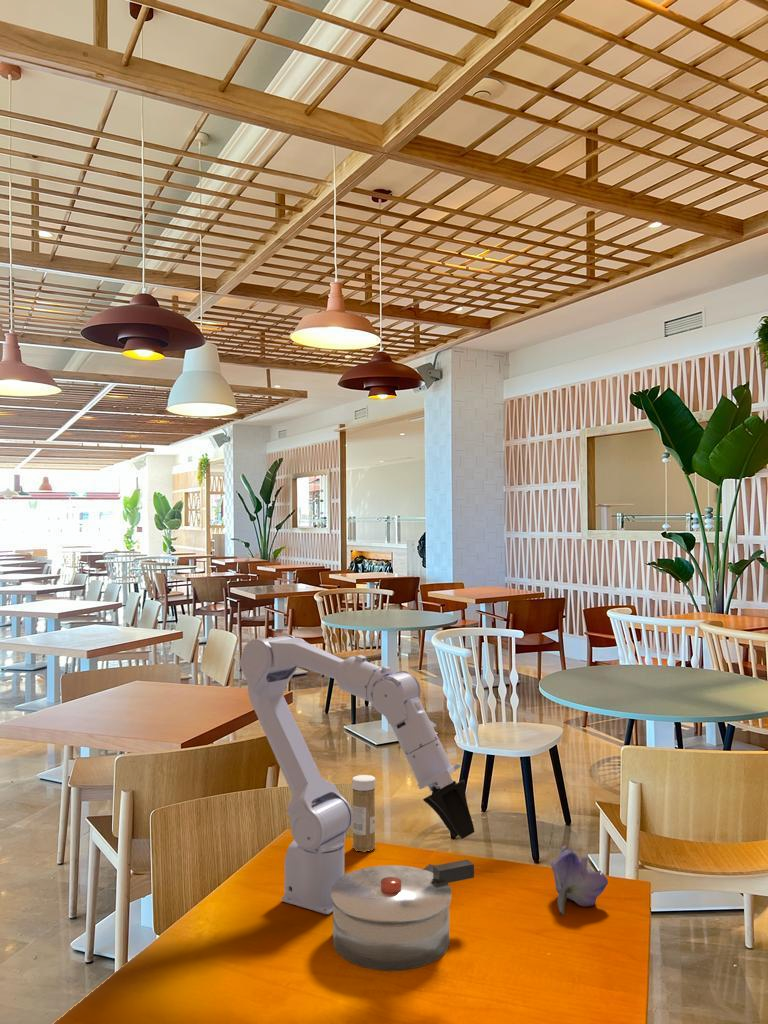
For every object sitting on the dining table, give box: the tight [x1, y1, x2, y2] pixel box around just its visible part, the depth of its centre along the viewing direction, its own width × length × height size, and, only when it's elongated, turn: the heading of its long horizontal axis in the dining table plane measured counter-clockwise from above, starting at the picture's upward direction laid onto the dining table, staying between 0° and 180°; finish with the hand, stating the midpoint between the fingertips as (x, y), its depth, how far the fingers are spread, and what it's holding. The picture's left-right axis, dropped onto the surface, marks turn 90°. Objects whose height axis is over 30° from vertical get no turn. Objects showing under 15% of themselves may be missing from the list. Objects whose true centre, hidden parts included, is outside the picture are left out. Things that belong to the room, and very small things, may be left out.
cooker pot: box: [332, 863, 450, 972], centre depth 112 cm, size 23×17×6 cm
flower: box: [550, 845, 609, 916], centre depth 120 cm, size 9×9×10 cm
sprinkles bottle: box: [351, 774, 377, 852], centre depth 144 cm, size 5×5×14 cm
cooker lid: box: [331, 859, 475, 924], centre depth 111 cm, size 22×18×3 cm
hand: (464, 834), depth 109 cm, fingers open, 7 cm apart
